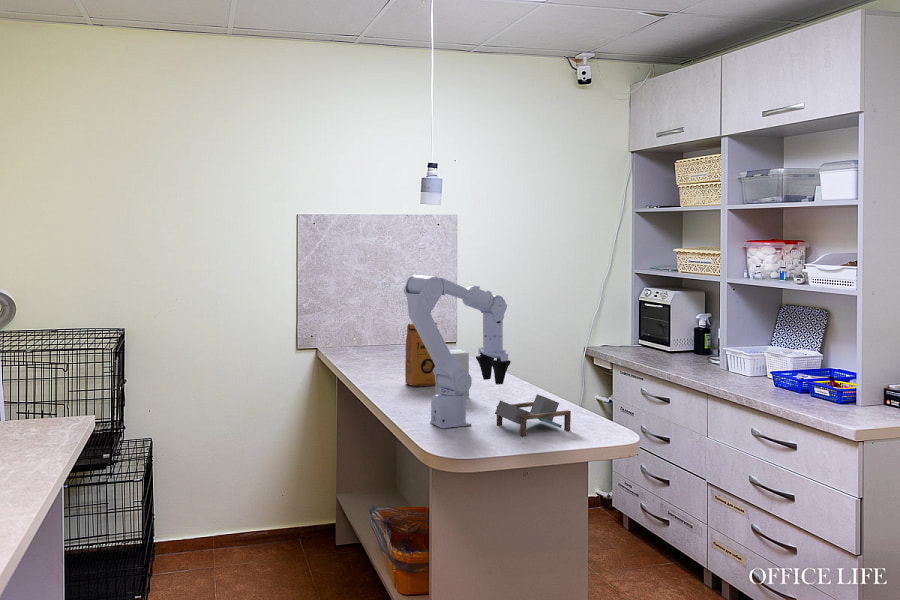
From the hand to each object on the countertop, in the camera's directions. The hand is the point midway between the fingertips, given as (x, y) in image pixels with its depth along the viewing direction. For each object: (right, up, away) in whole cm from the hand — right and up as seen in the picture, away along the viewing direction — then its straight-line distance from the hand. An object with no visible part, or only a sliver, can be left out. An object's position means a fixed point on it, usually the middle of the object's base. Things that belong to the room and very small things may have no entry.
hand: (493, 381), depth 232 cm
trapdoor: (+8, -11, -13) cm, 19 cm away
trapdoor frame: (+10, -12, -12) cm, 20 cm away
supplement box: (-12, -8, +29) cm, 33 cm away
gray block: (+13, -9, -11) cm, 19 cm away
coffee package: (-22, -6, +48) cm, 53 cm away
